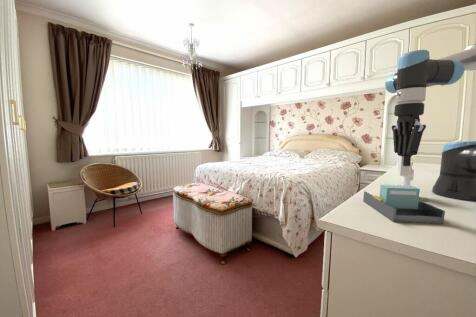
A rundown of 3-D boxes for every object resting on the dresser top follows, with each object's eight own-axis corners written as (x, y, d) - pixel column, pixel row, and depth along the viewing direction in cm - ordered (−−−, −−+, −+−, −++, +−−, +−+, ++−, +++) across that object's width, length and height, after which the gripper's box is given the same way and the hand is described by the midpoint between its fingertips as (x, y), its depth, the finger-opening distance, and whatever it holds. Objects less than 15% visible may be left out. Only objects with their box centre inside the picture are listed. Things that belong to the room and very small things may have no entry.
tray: (401, 202, 82) (402, 191, 82) (443, 224, 64) (445, 209, 63) (362, 201, 84) (363, 189, 83) (392, 221, 65) (393, 207, 64)
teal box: (408, 208, 75) (411, 185, 74) (417, 212, 71) (420, 189, 70) (378, 206, 76) (380, 184, 75) (385, 211, 72) (387, 187, 71)
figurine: (419, 196, 91) (423, 161, 89) (411, 200, 85) (415, 163, 83) (398, 192, 97) (402, 159, 95) (390, 195, 91) (393, 160, 89)
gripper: (385, 105, 76) (380, 171, 79) (410, 101, 63) (403, 179, 66) (408, 105, 75) (402, 171, 78) (438, 100, 62) (430, 179, 65)
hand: (403, 175), depth 72 cm, fingers closed
